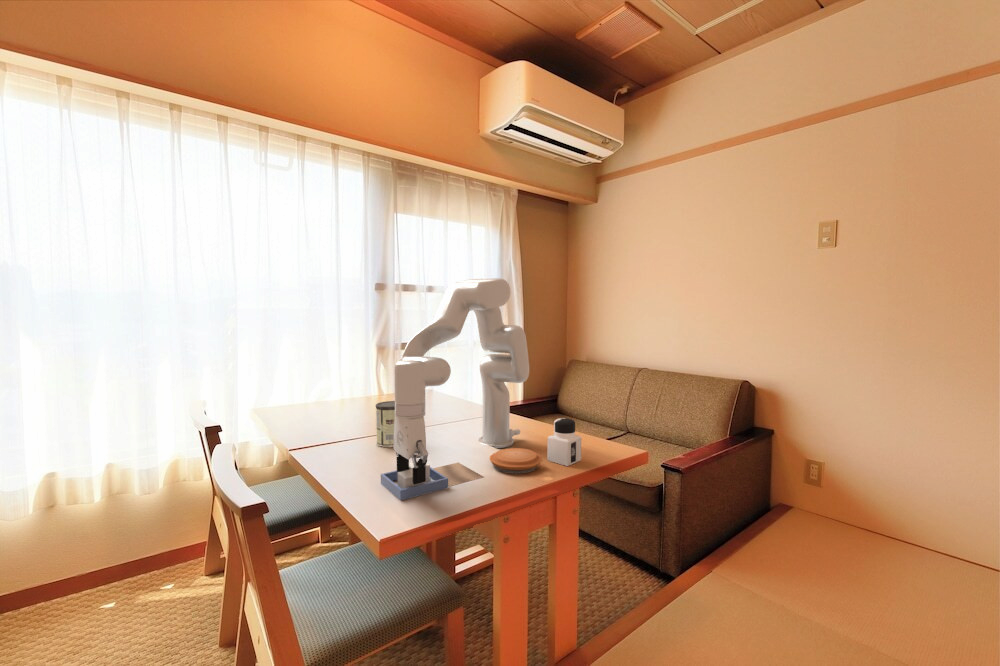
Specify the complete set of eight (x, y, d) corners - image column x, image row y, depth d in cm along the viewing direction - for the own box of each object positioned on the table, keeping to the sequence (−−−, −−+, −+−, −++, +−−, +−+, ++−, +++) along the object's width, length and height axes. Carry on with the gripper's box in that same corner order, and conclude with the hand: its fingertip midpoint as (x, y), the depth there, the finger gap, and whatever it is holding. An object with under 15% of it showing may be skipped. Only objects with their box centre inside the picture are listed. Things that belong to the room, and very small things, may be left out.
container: (581, 460, 134) (582, 419, 133) (567, 466, 128) (568, 424, 128) (561, 454, 139) (561, 415, 139) (546, 460, 134) (547, 419, 133)
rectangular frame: (425, 476, 121) (425, 463, 120) (448, 492, 110) (448, 478, 110) (380, 487, 113) (380, 474, 113) (400, 505, 102) (400, 490, 102)
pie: (479, 467, 128) (479, 451, 127) (519, 457, 137) (519, 442, 137) (511, 484, 115) (511, 466, 115) (552, 471, 125) (553, 454, 124)
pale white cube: (416, 487, 112) (415, 468, 111) (424, 493, 108) (424, 474, 107) (397, 491, 109) (397, 472, 109) (405, 498, 105) (405, 478, 104)
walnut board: (458, 466, 128) (458, 462, 128) (484, 481, 117) (484, 476, 117) (424, 474, 122) (424, 470, 122) (448, 490, 111) (449, 486, 111)
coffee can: (399, 437, 159) (399, 399, 158) (410, 444, 150) (410, 404, 150) (371, 442, 153) (371, 402, 152) (382, 449, 144) (381, 408, 144)
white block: (421, 477, 118) (421, 459, 118) (429, 483, 114) (429, 465, 114) (404, 481, 115) (404, 463, 115) (412, 487, 111) (412, 468, 111)
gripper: (383, 405, 112) (383, 469, 113) (410, 418, 98) (411, 491, 99) (409, 401, 116) (410, 463, 117) (439, 414, 102) (440, 484, 103)
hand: (410, 476), depth 108 cm, fingers open, 9 cm apart
